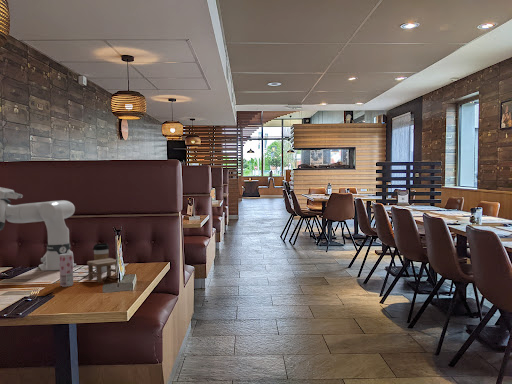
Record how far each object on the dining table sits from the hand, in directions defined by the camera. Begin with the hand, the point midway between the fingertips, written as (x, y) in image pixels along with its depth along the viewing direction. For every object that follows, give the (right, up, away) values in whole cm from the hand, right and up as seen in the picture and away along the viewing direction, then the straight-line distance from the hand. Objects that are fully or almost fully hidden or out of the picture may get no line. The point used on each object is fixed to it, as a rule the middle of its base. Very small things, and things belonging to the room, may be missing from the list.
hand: (19, 197), depth 186 cm
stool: (+34, -42, +15) cm, 56 cm away
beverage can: (+21, -42, +3) cm, 47 cm away
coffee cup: (+26, -42, +33) cm, 59 cm away
